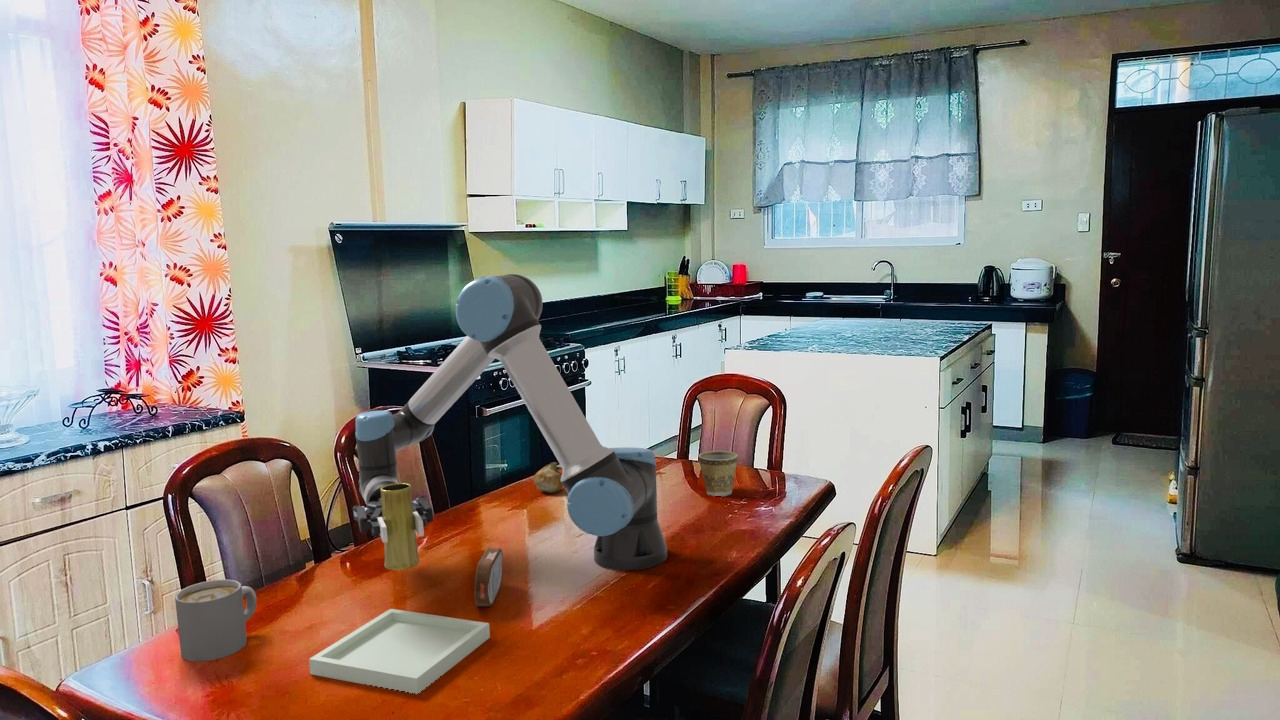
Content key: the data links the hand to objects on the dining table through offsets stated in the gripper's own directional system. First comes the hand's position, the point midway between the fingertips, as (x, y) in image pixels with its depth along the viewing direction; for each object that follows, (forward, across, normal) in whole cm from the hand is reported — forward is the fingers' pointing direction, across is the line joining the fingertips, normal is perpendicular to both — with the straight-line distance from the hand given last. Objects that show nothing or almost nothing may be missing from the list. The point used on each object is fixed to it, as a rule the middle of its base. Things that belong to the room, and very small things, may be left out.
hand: (403, 531), depth 153 cm
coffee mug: (-7, +30, -17) cm, 35 cm away
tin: (-5, -15, -17) cm, 24 cm away
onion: (-69, -46, -17) cm, 85 cm away
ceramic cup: (-47, -85, -17) cm, 99 cm away
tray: (+12, +3, -17) cm, 21 cm away
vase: (-5, 0, -8) cm, 9 cm away
